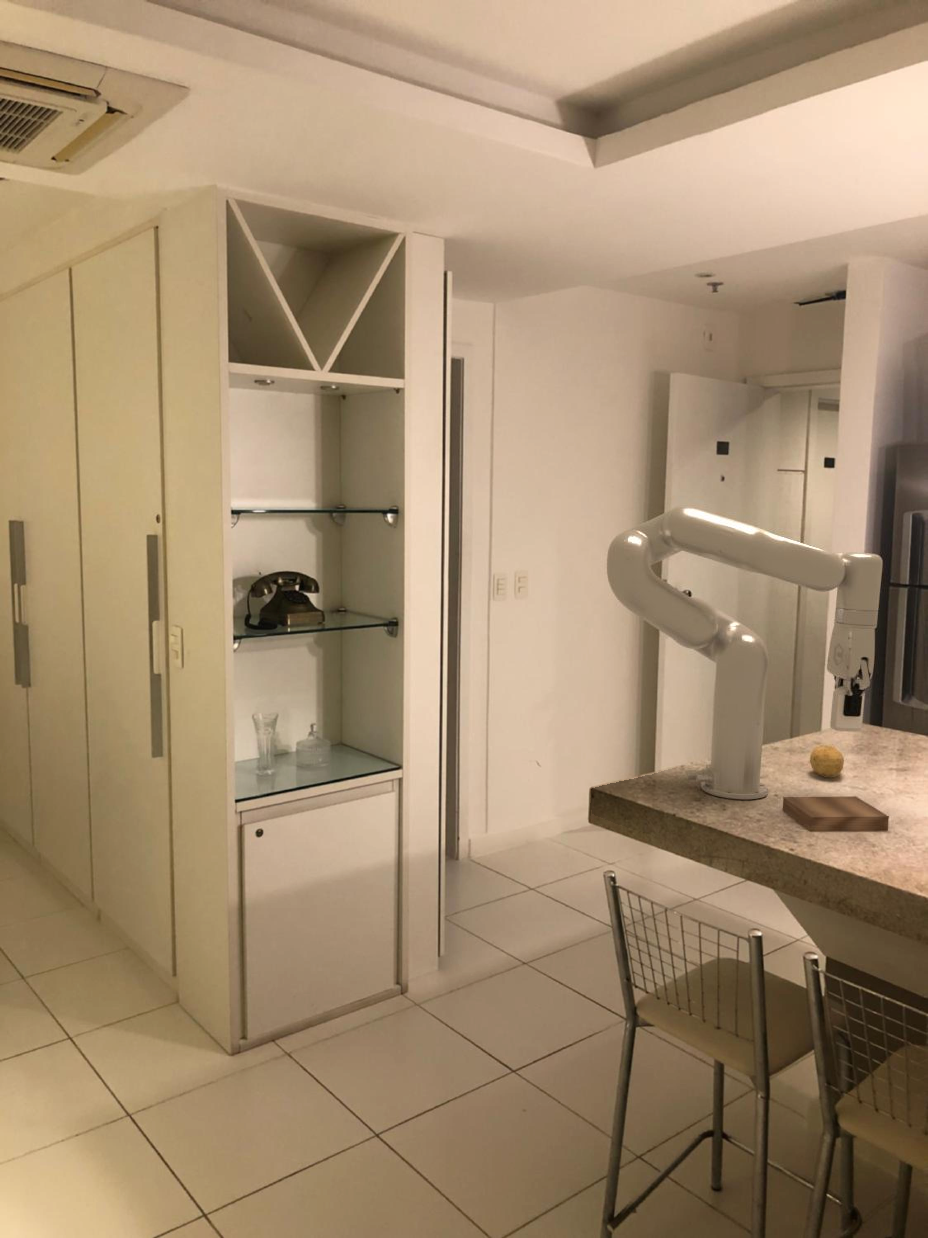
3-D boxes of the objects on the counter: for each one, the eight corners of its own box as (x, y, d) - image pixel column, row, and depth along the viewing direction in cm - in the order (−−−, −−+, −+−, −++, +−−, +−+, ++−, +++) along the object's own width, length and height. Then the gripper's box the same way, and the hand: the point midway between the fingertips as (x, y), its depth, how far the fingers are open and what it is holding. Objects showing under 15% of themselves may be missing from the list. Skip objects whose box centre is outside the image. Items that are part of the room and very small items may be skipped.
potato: (806, 779, 210) (808, 749, 210) (811, 767, 220) (813, 738, 220) (841, 784, 208) (843, 753, 207) (844, 771, 218) (846, 742, 217)
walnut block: (810, 834, 177) (811, 817, 176) (782, 812, 189) (783, 797, 188) (887, 833, 178) (888, 816, 178) (855, 812, 190) (856, 796, 190)
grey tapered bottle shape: (860, 734, 192) (866, 671, 191) (828, 729, 195) (834, 667, 193) (862, 729, 196) (868, 668, 195) (831, 725, 198) (836, 664, 197)
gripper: (818, 612, 201) (809, 704, 203) (856, 623, 184) (847, 723, 187) (854, 613, 201) (846, 705, 204) (896, 624, 185) (886, 724, 187)
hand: (846, 712), depth 195 cm, fingers closed on grey tapered bottle shape, 3 cm apart
